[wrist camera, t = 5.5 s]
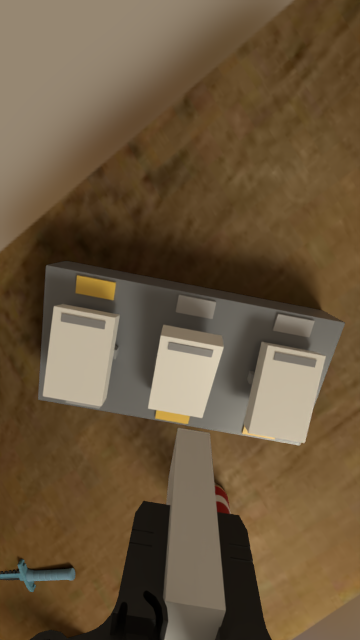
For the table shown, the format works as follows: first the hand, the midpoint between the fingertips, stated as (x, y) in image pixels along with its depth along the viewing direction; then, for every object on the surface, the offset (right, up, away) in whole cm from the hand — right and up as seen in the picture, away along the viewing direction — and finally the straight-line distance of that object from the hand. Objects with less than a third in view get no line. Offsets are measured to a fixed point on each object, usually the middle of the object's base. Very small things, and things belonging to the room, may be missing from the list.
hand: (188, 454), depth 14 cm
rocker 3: (+8, +1, +9) cm, 12 cm away
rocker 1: (-8, +4, +9) cm, 12 cm away
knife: (-23, -27, +25) cm, 43 cm away
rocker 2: (0, +2, +9) cm, 9 cm away
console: (0, +4, +15) cm, 15 cm away
